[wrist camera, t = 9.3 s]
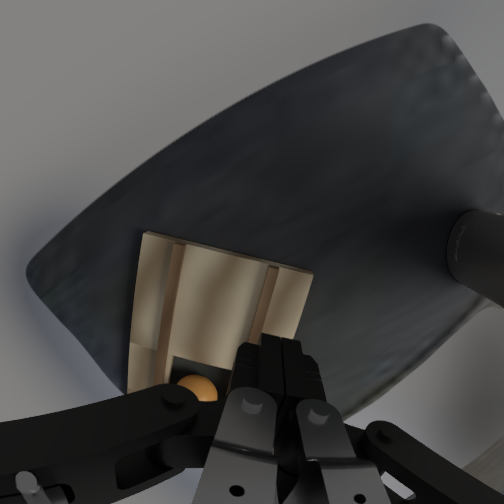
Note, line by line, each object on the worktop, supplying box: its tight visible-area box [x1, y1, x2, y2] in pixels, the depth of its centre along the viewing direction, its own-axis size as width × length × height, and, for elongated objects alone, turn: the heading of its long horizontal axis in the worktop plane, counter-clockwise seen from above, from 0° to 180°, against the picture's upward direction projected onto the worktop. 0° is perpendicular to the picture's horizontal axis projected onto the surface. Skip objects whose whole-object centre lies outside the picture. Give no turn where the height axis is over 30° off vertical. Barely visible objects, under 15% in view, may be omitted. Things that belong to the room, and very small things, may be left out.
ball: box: [177, 375, 217, 401], centre depth 32 cm, size 5×5×5 cm
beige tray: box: [127, 231, 314, 394], centre depth 31 cm, size 17×22×4 cm
